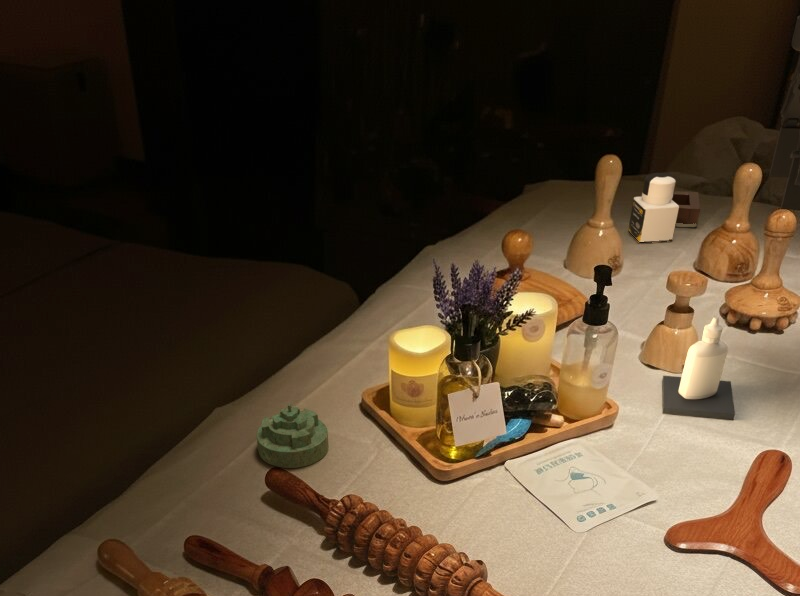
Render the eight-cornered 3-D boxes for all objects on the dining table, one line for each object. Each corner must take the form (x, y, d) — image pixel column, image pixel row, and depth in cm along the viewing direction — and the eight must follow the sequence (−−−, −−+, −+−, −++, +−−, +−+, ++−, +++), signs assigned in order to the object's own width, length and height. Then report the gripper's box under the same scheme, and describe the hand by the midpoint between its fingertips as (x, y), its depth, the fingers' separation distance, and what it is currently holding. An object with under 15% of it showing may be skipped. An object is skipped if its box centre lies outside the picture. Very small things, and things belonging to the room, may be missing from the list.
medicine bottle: (627, 231, 184) (637, 171, 176) (660, 229, 185) (671, 169, 177) (638, 243, 179) (649, 182, 171) (672, 241, 179) (685, 179, 171)
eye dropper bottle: (717, 402, 129) (738, 325, 121) (678, 399, 130) (696, 322, 122) (715, 388, 132) (735, 312, 124) (677, 385, 133) (694, 309, 125)
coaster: (729, 387, 134) (730, 381, 133) (733, 420, 127) (735, 414, 126) (662, 381, 136) (663, 375, 135) (662, 413, 129) (663, 407, 128)
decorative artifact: (343, 447, 124) (297, 422, 130) (340, 403, 119) (293, 379, 125) (289, 476, 119) (244, 449, 124) (285, 432, 114) (238, 405, 120)
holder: (694, 211, 193) (698, 192, 190) (696, 228, 185) (700, 208, 182) (642, 208, 195) (646, 189, 192) (642, 225, 187) (646, 206, 184)
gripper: (785, -4, 118) (747, 164, 132) (814, 32, 100) (766, 222, 114) (846, -6, 116) (800, 165, 130) (885, 31, 98) (828, 224, 112)
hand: (784, 192), depth 122 cm, fingers open, 13 cm apart
